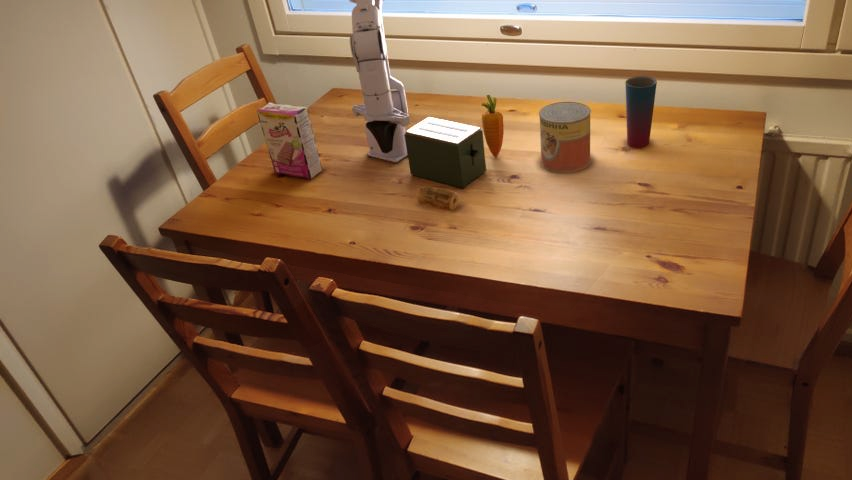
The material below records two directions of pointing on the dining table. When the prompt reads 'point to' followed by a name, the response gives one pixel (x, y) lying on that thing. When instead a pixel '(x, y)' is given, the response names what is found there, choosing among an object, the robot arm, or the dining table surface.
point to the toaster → (445, 152)
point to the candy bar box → (290, 140)
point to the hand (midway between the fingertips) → (387, 151)
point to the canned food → (565, 136)
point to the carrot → (493, 126)
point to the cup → (639, 109)
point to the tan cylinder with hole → (438, 197)
